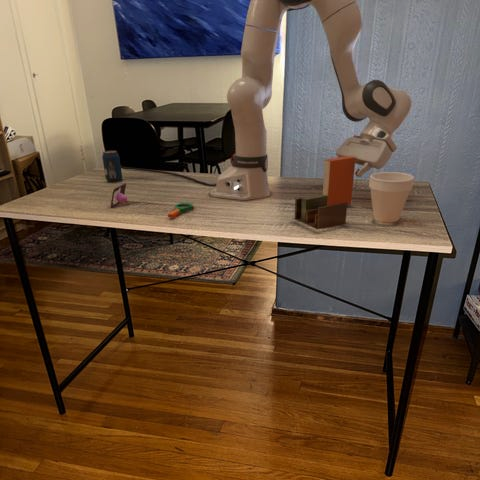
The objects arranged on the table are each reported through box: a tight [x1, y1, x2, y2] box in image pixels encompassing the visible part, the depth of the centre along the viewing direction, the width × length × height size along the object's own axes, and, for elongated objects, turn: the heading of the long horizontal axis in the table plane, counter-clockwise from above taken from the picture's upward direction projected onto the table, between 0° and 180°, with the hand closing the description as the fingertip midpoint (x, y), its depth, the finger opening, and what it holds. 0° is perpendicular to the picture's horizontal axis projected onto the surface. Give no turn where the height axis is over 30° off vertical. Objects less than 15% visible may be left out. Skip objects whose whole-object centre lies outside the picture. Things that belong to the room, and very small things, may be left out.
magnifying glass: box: [167, 202, 194, 219], centre depth 151 cm, size 15×6×2 cm, turn 164°
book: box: [322, 156, 356, 206], centre depth 149 cm, size 3×10×16 cm, turn 119°
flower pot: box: [368, 171, 415, 223], centre depth 135 cm, size 12×12×14 cm
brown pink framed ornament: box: [110, 183, 130, 208], centre depth 161 cm, size 7×5×9 cm
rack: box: [293, 193, 348, 230], centre depth 136 cm, size 12×11×8 cm
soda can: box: [101, 150, 123, 184], centre depth 192 cm, size 7×7×12 cm
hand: (347, 173), depth 148 cm, fingers open, 8 cm apart
